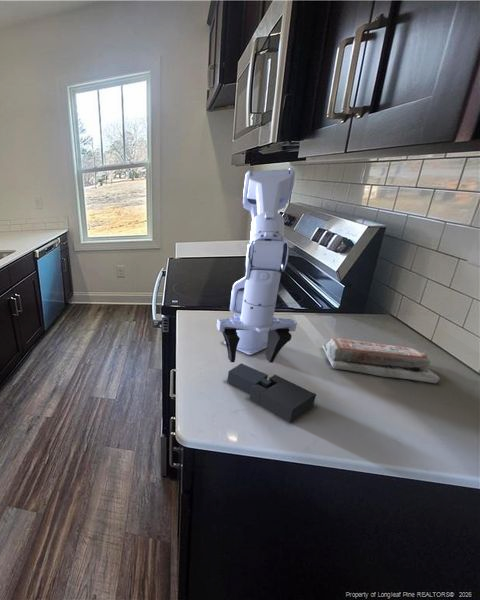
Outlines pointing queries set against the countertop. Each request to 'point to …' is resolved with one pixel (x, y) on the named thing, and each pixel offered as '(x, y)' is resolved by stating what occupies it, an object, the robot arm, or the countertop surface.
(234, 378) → the graphite pad
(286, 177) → the robot arm
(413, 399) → the countertop surface
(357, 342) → the packaged product
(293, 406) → the black pad
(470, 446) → the countertop surface
